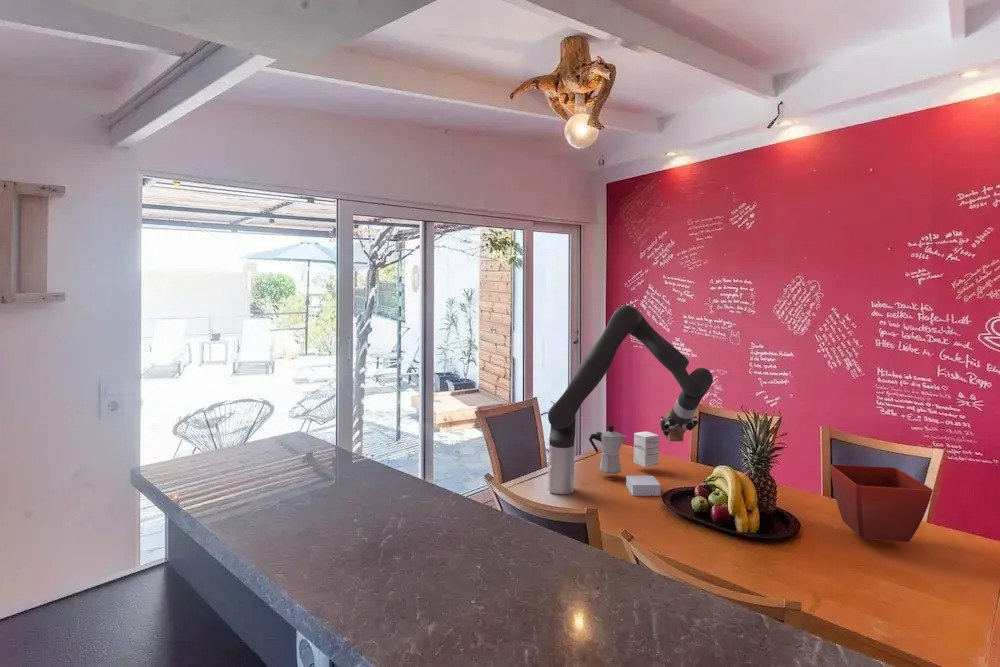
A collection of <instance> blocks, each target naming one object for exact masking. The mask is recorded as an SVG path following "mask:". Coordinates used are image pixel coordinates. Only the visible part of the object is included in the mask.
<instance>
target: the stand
mask: <svg viewBox="0 0 1000 667" xmlns="http://www.w3.org/2000/svg"><path fill="white" fill-rule="evenodd" d="M625 477H626V478H625V479H626V480H625V482H626V484H625V486H627V487H626V488H627V489H629V490H628V491H629V493H631V496H633V497H655V496H656V497H657V496H658V497H660V496H661V492H662V491H661V487H662V485H661V483H659V481H658V480H657V478H655V476H654V475H626V476H625ZM651 495H652V496H651Z"/></svg>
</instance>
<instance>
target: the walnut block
mask: <svg viewBox="0 0 1000 667" xmlns="http://www.w3.org/2000/svg"><path fill="white" fill-rule="evenodd" d="M672 409H673V408H672ZM672 409H671V408H666V410H665V418H668V417H669V416H670V414H671V411H672ZM668 427H669V426H668ZM683 432H684V430H683V427H680V426H676V427H675V428H673V429H671V430H669V433H668V435H667V436H665V439H666V440H667V441H668V442H684V434H683Z"/></svg>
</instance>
